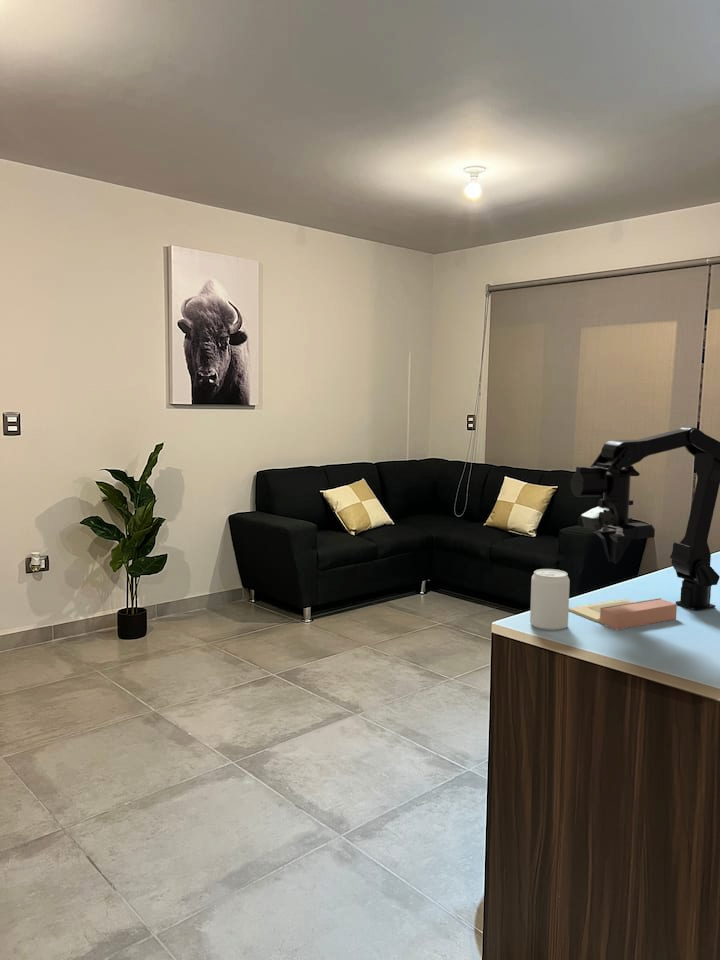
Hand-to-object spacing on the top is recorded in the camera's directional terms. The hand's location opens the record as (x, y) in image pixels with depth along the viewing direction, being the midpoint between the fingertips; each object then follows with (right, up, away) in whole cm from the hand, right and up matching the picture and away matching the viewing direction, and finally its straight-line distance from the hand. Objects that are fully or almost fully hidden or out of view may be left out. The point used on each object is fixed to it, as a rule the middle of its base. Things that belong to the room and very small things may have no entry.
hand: (613, 561), depth 171 cm
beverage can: (-17, -13, -9) cm, 24 cm away
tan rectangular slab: (0, -12, +2) cm, 12 cm away
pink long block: (+4, -13, -5) cm, 14 cm away
